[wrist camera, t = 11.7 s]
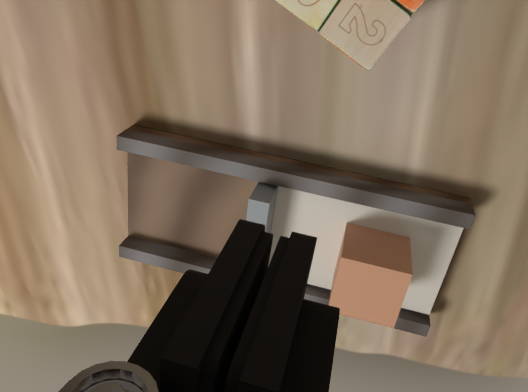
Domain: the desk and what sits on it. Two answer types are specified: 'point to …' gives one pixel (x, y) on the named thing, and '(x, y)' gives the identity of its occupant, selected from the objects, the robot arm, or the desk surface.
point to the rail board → (244, 201)
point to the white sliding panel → (341, 212)
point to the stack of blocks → (356, 23)
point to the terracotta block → (371, 274)
